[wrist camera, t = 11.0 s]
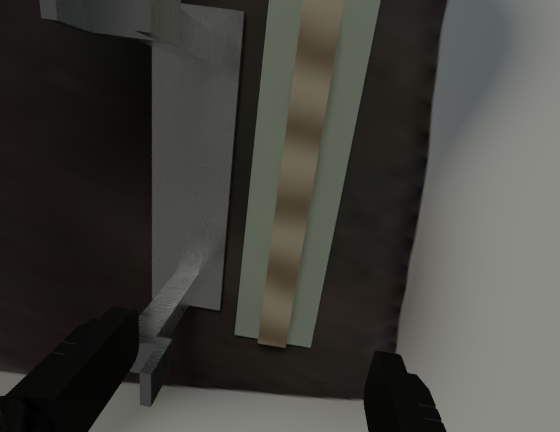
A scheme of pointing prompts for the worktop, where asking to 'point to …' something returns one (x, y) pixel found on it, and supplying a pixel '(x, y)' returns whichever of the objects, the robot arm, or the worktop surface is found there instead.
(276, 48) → the mat
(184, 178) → the hook stand
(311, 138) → the rail
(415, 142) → the worktop surface
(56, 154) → the worktop surface
